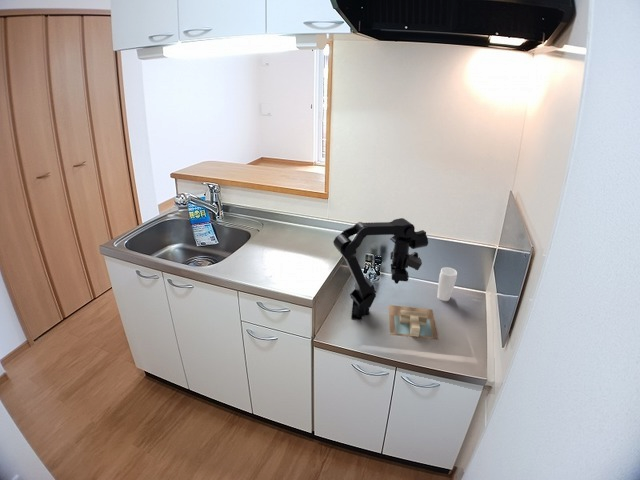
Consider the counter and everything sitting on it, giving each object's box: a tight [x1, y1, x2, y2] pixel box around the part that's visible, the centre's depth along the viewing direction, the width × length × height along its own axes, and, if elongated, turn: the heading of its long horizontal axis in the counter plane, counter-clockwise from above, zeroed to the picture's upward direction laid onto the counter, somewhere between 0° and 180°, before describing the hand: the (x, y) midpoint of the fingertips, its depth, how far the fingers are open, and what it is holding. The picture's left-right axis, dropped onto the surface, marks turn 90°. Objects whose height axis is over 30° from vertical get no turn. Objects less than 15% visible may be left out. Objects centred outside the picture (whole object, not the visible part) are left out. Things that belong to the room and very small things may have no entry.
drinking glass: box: [436, 266, 458, 302], centre depth 155 cm, size 7×7×15 cm
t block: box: [400, 310, 427, 338], centre depth 139 cm, size 10×10×4 cm
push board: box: [388, 304, 440, 341], centre depth 143 cm, size 18×18×2 cm
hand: (396, 283), depth 148 cm, fingers closed
